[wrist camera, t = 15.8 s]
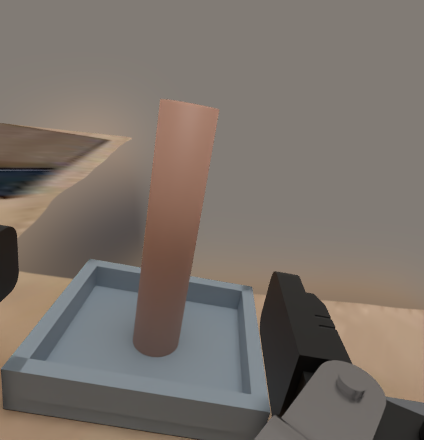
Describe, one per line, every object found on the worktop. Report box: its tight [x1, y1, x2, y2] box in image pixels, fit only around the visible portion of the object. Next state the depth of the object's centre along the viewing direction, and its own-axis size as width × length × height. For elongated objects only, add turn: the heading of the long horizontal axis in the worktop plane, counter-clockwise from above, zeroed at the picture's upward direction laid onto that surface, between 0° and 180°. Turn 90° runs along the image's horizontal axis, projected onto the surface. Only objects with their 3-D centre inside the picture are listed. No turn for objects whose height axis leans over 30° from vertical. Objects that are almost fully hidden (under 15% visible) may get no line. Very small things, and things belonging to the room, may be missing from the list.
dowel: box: [133, 99, 219, 357], centre depth 22 cm, size 3×3×17 cm
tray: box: [1, 259, 270, 440], centre depth 25 cm, size 15×13×3 cm
